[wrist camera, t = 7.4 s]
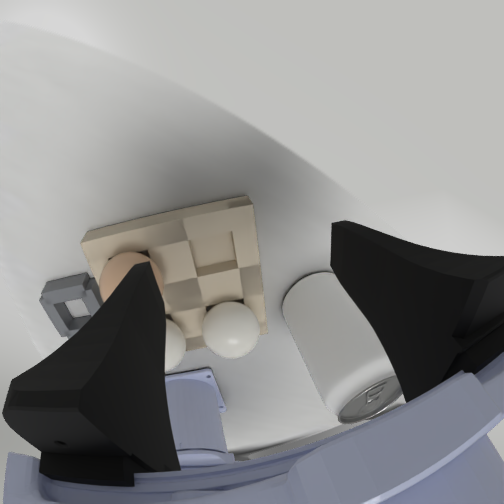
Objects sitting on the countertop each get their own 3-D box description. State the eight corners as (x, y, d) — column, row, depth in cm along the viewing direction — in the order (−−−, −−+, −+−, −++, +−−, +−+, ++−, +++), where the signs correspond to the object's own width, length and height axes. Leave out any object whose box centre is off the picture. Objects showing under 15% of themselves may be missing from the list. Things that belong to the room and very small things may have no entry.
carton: (262, 319, 26) (267, 333, 25) (138, 345, 25) (137, 359, 23) (247, 195, 20) (253, 204, 19) (87, 231, 19) (80, 243, 17)
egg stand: (117, 321, 23) (115, 334, 22) (68, 329, 22) (64, 341, 21) (93, 271, 20) (88, 283, 19) (42, 283, 20) (35, 294, 18)
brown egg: (156, 234, 19) (151, 269, 15) (171, 286, 21) (171, 327, 17) (97, 247, 18) (81, 283, 14) (117, 296, 20) (108, 337, 17)
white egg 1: (190, 338, 24) (194, 378, 20) (143, 346, 24) (141, 386, 20) (176, 300, 22) (178, 341, 18) (124, 310, 21) (118, 351, 18)
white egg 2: (255, 324, 25) (268, 362, 21) (205, 335, 24) (212, 375, 21) (249, 284, 23) (263, 322, 19) (193, 296, 22) (198, 337, 18)
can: (284, 332, 28) (330, 436, 18) (276, 281, 25) (335, 399, 14) (343, 312, 29) (403, 402, 19) (344, 260, 25) (424, 356, 15)
